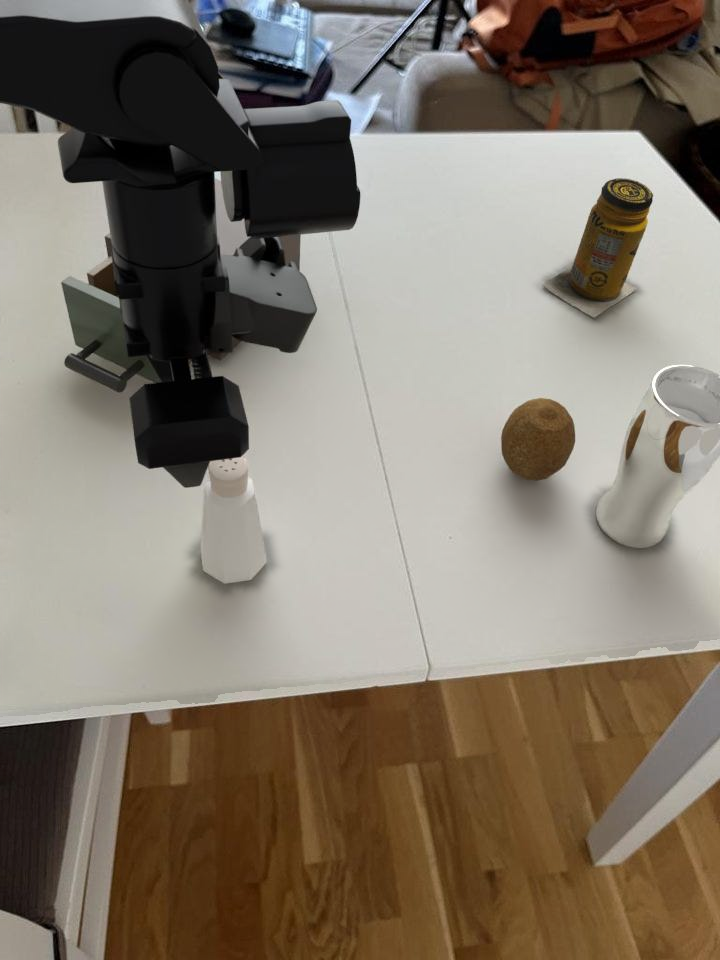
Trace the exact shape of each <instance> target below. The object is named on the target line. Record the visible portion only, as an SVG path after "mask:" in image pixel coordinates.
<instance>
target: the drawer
mask: <svg viewBox="0 0 720 960" xmlns="http://www.w3.org/2000/svg"><path fill="white" fill-rule="evenodd" d="M86 277H87V282H85V281H83V280H80V279H78V278H76V277H74V276H71V275H69V276H67V277H66V278H64V279H63V280H62V281H61V282H60V284H61V289H62V292H63V297H64V302H65V306H66V310H67V315H68V319H69V323H70V328H71V332H72V335H73V336H72V337H73V341H74V345H75V346H77V347H79V348H80V349H81V350H80V351H78V353H76V354H75V353H72V352H71V353H69V354H67V355H66V357H65V358H64V361H63V362H64V363H63V365H64V367H65V368H67V369H69V370H70V371H72V372H75V373H77V374H79V375H81V376H83V377H85V378H87V379H89V380H91V381H93V382H96V383H97V384H99V385H101V386H103V387H106V388H107V389H110V390H112V391H114V392H116V393H119V394H121V393H123V392H124V391H125V389H126V388H127V386H128V381H130V380H131V379H132V378H133V377H134V376H135V375H138V376H139V377H141V378H143V379H146V380H148V381H149V382H151V383H159V382H161V380H160V379H159V377H158V375H157V374H156V372H155V370H154V368H153V367H152V365H151V363H150V362H149V360H148V358H147V357H146V356H137V357H128V353H127V346H126V339H125V331H124V323H123V316H122V314H121V310H120V302H119V298H118V297H117V292H116V286H115V279H114V270H113V262H112V255H111V256H110V257H109V258H108V257H107V258H106V259H104V260H103V261H102V262H100V263H99V264H97V265H96V266H95V267H93V268H92V269H90V270H89V271H87V272H86ZM92 355H95V356H96V357H97V356H98V357H99V358H102V359H104V360H106V361H108V362H110V363H112V364H114V365H116V366H118V367H121V368H122V369H125V370H124V371H123V372H122V373H121V374H117V373H115V372H113V371H110V370H109V369H106V368H105V367H102V366H100V365H98V364H96V363H94V362H92V361H90V360H88V358H89V357H90V356H92ZM188 362H189V364H192V363H191V359H190V360H188Z"/></svg>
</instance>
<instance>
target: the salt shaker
mask: <svg viewBox="0 0 720 960" xmlns="http://www.w3.org/2000/svg"><path fill="white" fill-rule="evenodd" d="M249 466H250V465H249V462H248V461H247V459H246V458H245V457H244V455H243V456H242V457H239V458H232V459H224V460H216V461H210V463H209V465H208V468H207V471H208V474H209V475H208V476H209V480H208V481H207V482H205V484H204V487H203V500H202V518H201V532H200V548H199V549H200V557H201V565H202V571H203V572H204V573H206V574H207V575H209V576H211V577H212V578H214V579H216V580H217V581H219V582H221V583H222V584H233V583H241V582H246V581H247V582H248V581H252V580H253V579H254V578H255V577H256V575H257V574H258V573H259V572H260V571H261V569H262V568H263V567H264V566H265V565H266V564H267V563H268V559H267V558H268V557H267V553H266V547H265V542H264V536H263V529H262V525H261V519H260V514H259V513H260V512H259V508H258V502H257V497H256V492H255V491H256V490H255V486H254V481H253V478H252V477H249V469H250V467H249Z"/></svg>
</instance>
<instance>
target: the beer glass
mask: <svg viewBox="0 0 720 960" xmlns="http://www.w3.org/2000/svg"><path fill="white" fill-rule="evenodd" d="M719 457H720V375H719V374H717V373H715V372H714V371H712V370H709V369H707V368H704V367H700V366H697V365H690V364H673V365H669V366H666V367H663V368H662V369H660V370H658V372H657V373H656V374H655V375H654V376H653V379H652V381H651V382H650V384H649V386H648V388H647V389H646V391H645V393H644V395H643V396H642V398H641V399H640V401H639V403H638V405H637V407H636V409H635V411H634V412H633V415H632V417H631V419H630V421H629V423H628V427H627V430H626V433H625V436H624V439H623V443H622V448H621V452H620V456H619V461H618V462H619V463H618V466H617V467H618V468H617V471H616V475H615V479H614V480H613V482H612V485H611V487H610V488H609V489H608V490H607V492H606V493H605V494H604V495H603V496H602V497H601V498H600V500H599V501H598V502H597V505H596V509H595V517H596V520H597V523H598V525H599V527H600V528H601V530H602V531H603V533H605V535H607V536H608V538H610V539H612V540H613V541H614V542H616V543H618V544H620V545H622V546H626V547H629V548H633V549H646V548H652V547H654V546H656V545H657V544H659V543H660V542H661V541H662V540H663V539H664V538H665V536H666V534H667V531H668V528H669V524H670V521H671V517H672V515H673V512H674V511H675V509H676V507H677V506H678V505H679V504H680V502H681V501H682V500H683V499H684V498H685V497H687V495H688V494H689V493H690V492H691V491H692V490H693V489H694V488H695V487H696V486H697V485H698V484H699V483H700V482H701V481H702V480H703V479H704V478H705V476H706V475H707V474H708V472H709V471H711V469H712V468H713V466H714V465H715V463H716V462H717V460H718V459H719Z"/></svg>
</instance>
